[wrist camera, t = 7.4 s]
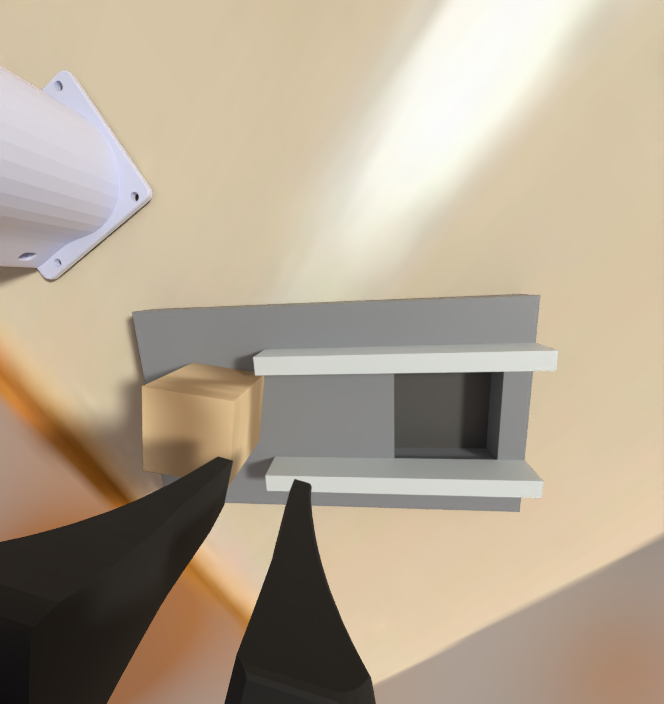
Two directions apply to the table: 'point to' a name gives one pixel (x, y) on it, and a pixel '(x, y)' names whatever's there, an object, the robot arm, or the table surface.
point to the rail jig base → (373, 396)
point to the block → (200, 418)
